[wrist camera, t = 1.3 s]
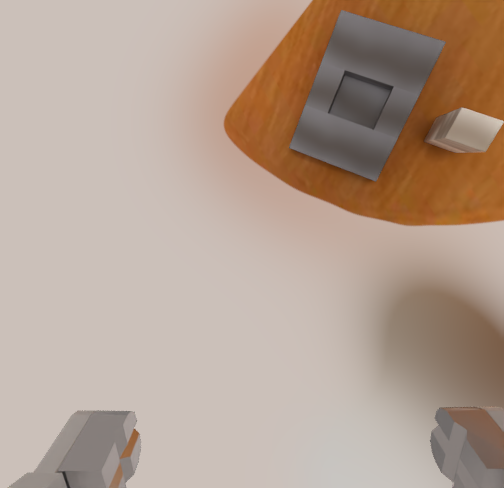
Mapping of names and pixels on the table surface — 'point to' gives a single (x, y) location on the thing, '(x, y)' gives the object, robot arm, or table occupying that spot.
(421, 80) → the slot holder
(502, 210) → the table surface
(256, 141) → the table surface
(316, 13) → the table surface
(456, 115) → the peg
